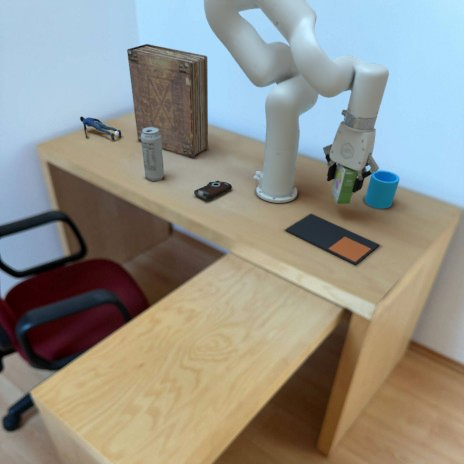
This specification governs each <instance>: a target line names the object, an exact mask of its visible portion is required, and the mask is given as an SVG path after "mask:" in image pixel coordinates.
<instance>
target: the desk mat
mask: <svg viewBox="0 0 464 464" xmlns="http://www.w3.org/2000/svg"><path fill="white" fill-rule="evenodd" d="M285 232H287V233H289V234H290V235H293V236H295V237H296V238H299V239H301V240H303V241H305V242H307V243H309V244H312V245H313V246H315V247H317V248H319V249H321V250H323V251H325V252H328V253H329V254H331V255H334V256H335V257H338V258H340V259H342V260H343V261H346V262H348V263H350V264H351V265H354V266H356V265H358V264H359V263H360V262H361V261H363V260H364V259H365V258H366V257H368V256H369V255H370V254H371V253H372V252H374V251H375V250H377V248H379V246H380V244H379V243H377V242H375V241H373V240H370V239H369V238H366V237H364V236H361V235H359V234H357V233H355V232H352V231H351V230H348V229H346V228H345V227H344V228H343V227H341V226H339V225H337V224H335V223H332V222H330V221H329V220H326V219H325V218H322V217H320V216H317V215H315V214H313V213H310V214H308V215H306V216H304V218H302V219H300V220H298V221H297V222H295V223H294V224H292V225H290V226H289V227H287V228H286V229H285Z"/></svg>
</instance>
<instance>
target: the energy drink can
mask: <svg viewBox="0 0 464 464" xmlns="http://www.w3.org/2000/svg"><path fill="white" fill-rule="evenodd" d="M140 143H141V150H142V151H141V152H142V159H143V168H144V176H145V177H146V179H147V180H149V181H151V182H159V181H161V180H162V179H163V177H164V176H165V168H164V155H163V149H162V142H161V134H160V133H159V130H158V129H157V128H154V127H147V128H144V129H143V130H142V134H141V142H140Z"/></svg>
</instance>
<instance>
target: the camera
mask: <svg viewBox="0 0 464 464" xmlns="http://www.w3.org/2000/svg"><path fill="white" fill-rule="evenodd" d="M230 190H233V185H232V184H231V183H229V182H226V181H220V180H215V181H208V183H206V185H203V186H201V187H199V188H197V189H195V190H193V194H194V195H195V196H196V197H198V198H200V199H201V200H204V201H209V200H212V199H213V200H214V199H215V198H217V197H219V196H222V195H223V194H225V193H228V192H229V191H230Z"/></svg>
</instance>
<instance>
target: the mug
mask: <svg viewBox="0 0 464 464" xmlns="http://www.w3.org/2000/svg"><path fill="white" fill-rule="evenodd" d="M400 179H401V178H400V176H399V175H398V174H397V173H394V172H392V171H389V170H381V169H380V170H377V171H376V172H374V173H373V174H371V175H370V178H369V182H368V184H367V185H368V186H367V189H366V193H365V196H364V202H365V204H366V205H368V206H369V207H372V208H374V209H388V208H391V207H392V205H393V202H394V199H395V196H396V192H397V189H398V186H399V182H400Z"/></svg>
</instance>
